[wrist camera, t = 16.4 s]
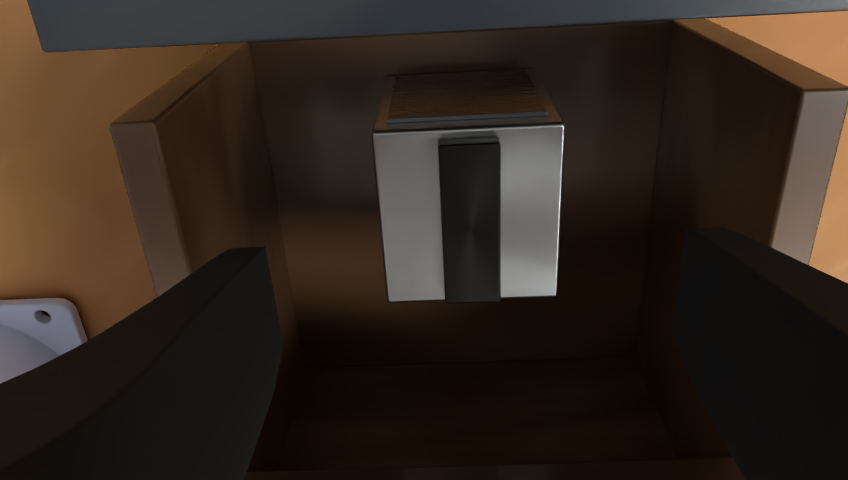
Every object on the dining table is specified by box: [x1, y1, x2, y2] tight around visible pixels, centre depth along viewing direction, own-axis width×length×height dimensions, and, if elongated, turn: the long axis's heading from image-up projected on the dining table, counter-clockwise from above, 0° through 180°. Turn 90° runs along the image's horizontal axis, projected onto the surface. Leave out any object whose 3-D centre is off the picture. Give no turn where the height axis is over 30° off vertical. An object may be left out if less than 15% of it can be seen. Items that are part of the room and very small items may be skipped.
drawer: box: [27, 0, 848, 472], centre depth 15 cm, size 18×13×8 cm
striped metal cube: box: [372, 69, 566, 304], centre depth 16 cm, size 4×4×5 cm
